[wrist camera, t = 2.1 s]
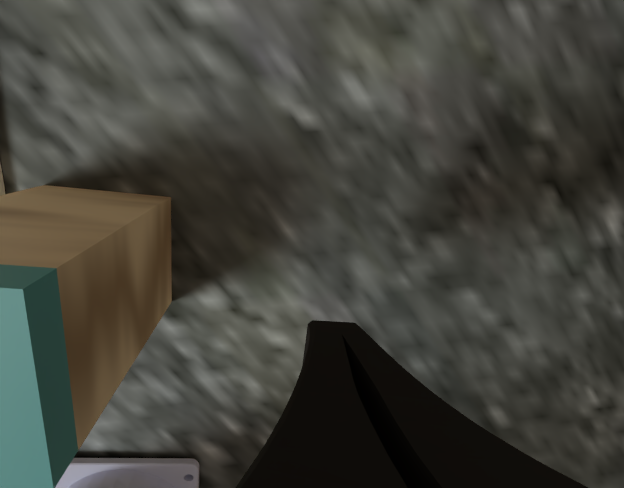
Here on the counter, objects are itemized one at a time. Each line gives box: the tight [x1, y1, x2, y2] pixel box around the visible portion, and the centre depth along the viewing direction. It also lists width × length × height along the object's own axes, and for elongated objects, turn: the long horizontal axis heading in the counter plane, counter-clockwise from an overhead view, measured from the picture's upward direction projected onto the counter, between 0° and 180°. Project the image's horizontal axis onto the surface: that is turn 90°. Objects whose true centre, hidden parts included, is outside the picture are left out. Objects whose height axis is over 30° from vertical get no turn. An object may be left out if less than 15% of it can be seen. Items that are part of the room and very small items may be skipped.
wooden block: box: [0, 185, 172, 488], centre depth 11 cm, size 5×5×9 cm
